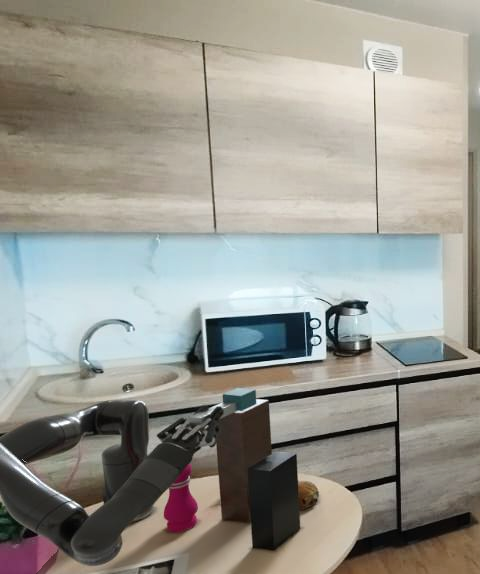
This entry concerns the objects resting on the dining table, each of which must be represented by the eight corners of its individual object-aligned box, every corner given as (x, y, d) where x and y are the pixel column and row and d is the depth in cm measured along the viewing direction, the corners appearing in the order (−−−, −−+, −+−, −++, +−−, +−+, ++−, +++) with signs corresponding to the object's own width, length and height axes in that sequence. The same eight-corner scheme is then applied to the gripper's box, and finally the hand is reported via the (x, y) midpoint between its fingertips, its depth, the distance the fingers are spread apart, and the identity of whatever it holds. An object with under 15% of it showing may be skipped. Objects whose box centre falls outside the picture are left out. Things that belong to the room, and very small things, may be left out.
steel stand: (252, 548, 147) (247, 468, 144) (279, 526, 157) (275, 451, 153) (274, 550, 147) (269, 471, 143) (300, 528, 157) (296, 453, 153)
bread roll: (313, 503, 175) (306, 477, 176) (327, 500, 169) (320, 474, 170) (277, 516, 167) (271, 490, 168) (291, 514, 161) (284, 486, 162)
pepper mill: (180, 535, 151) (174, 464, 148) (157, 531, 152) (151, 460, 149) (205, 520, 158) (200, 452, 155) (184, 516, 159) (178, 449, 156)
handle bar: (185, 426, 134) (184, 410, 134) (238, 402, 150) (237, 387, 149) (204, 428, 134) (203, 412, 133) (256, 404, 150) (255, 389, 149)
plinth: (221, 520, 158) (213, 410, 153) (249, 501, 168) (242, 397, 163) (248, 523, 158) (241, 413, 152) (274, 503, 168) (268, 400, 162)
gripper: (140, 476, 129) (194, 415, 142) (198, 482, 128) (247, 420, 141) (121, 456, 124) (179, 395, 137) (181, 462, 123) (234, 400, 136)
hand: (213, 408), depth 139 cm, fingers closed on handle bar, 3 cm apart
